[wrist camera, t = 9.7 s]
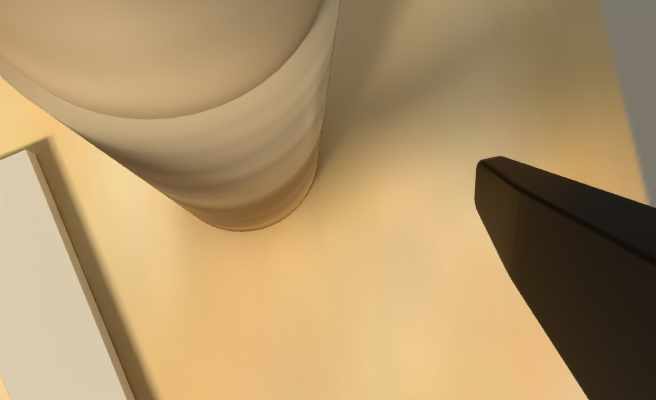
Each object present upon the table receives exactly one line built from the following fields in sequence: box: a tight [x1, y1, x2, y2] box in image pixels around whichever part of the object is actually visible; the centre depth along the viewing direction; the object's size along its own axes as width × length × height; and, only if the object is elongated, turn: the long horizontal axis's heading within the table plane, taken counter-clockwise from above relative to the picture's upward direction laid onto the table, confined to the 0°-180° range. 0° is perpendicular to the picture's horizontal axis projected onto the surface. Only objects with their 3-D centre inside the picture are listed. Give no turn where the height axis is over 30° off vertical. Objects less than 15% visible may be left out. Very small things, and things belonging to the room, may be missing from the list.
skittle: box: [0, 0, 340, 232], centre depth 11 cm, size 5×5×13 cm
